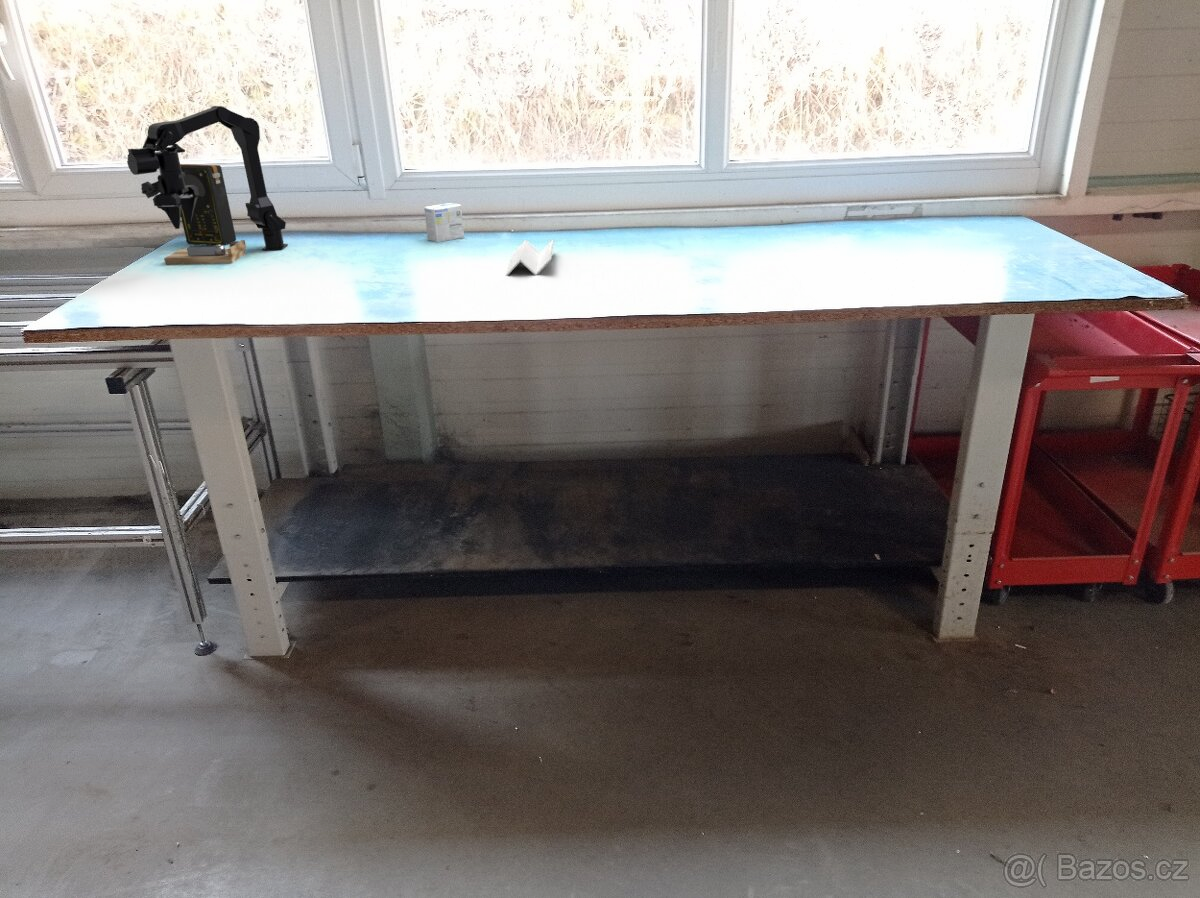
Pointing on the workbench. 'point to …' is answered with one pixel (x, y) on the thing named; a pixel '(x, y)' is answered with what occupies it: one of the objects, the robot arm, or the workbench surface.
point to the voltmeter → (208, 207)
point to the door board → (208, 256)
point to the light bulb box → (444, 222)
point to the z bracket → (531, 257)
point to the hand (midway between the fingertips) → (183, 225)
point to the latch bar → (206, 250)
